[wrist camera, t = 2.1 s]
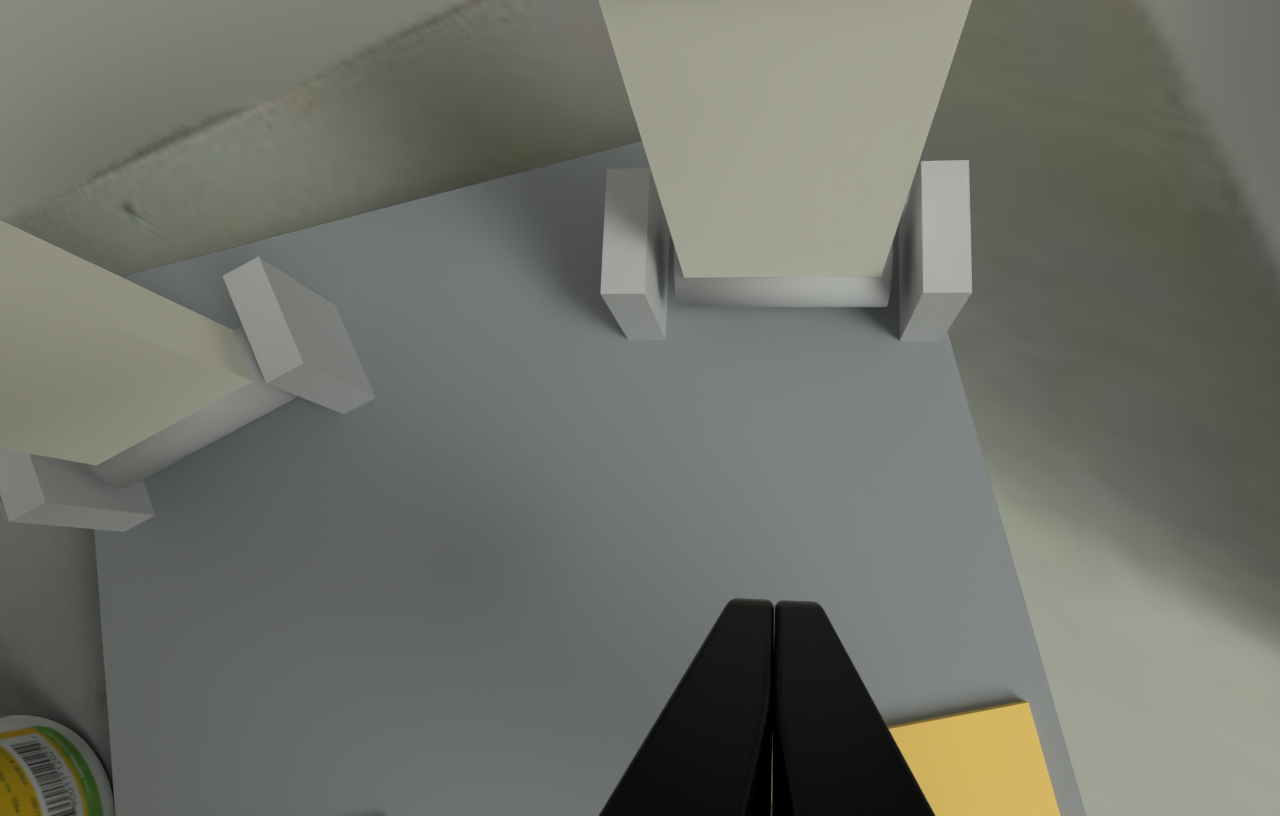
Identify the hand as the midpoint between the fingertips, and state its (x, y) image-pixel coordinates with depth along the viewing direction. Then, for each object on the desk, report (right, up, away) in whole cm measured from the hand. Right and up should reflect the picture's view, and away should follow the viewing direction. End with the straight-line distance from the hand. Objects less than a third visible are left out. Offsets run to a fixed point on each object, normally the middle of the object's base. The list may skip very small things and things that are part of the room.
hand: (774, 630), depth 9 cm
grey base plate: (-3, -2, +12) cm, 13 cm away
